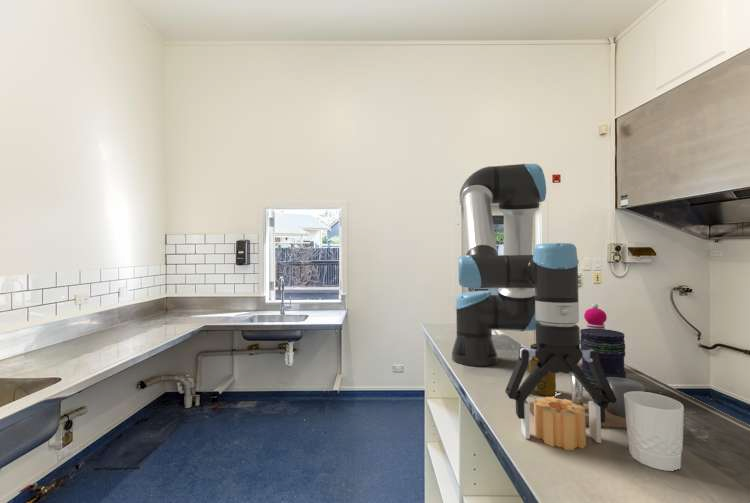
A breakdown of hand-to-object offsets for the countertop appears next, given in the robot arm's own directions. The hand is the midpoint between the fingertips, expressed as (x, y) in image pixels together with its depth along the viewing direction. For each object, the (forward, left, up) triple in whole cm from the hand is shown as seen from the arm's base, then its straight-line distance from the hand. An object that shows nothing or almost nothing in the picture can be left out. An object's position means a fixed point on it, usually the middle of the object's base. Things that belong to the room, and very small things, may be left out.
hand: (560, 437), depth 65 cm
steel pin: (-9, +7, +2) cm, 11 cm away
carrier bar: (-9, +9, 0) cm, 12 cm away
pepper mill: (-47, +29, 0) cm, 55 cm away
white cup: (+6, +13, 0) cm, 14 cm away
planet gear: (0, 0, 0) cm, 0 cm away
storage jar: (-27, +21, 0) cm, 34 cm away
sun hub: (-9, +16, +2) cm, 18 cm away
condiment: (-23, +4, 0) cm, 23 cm away
